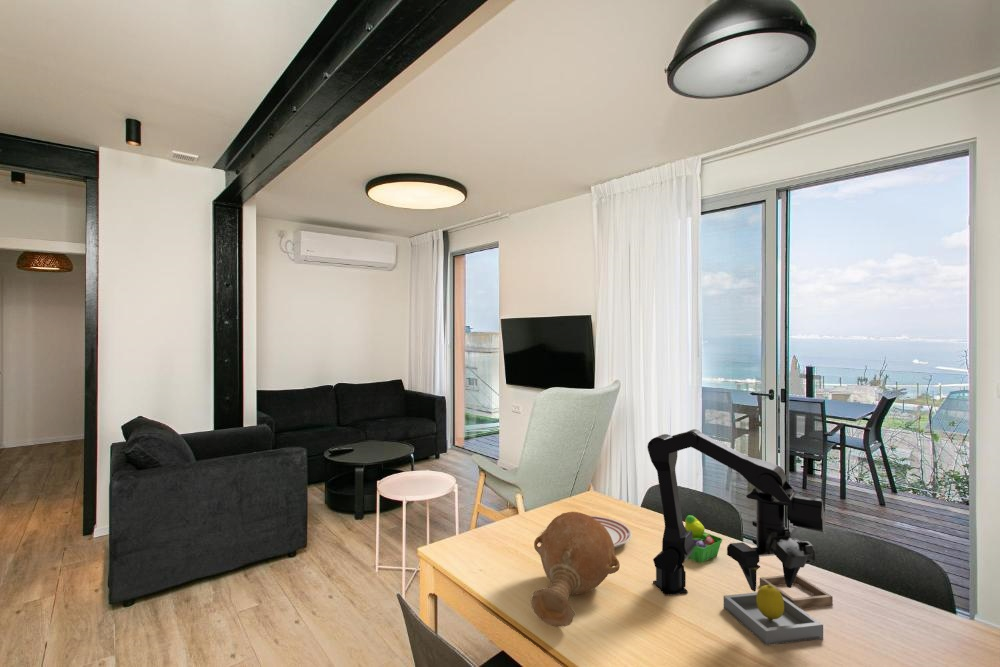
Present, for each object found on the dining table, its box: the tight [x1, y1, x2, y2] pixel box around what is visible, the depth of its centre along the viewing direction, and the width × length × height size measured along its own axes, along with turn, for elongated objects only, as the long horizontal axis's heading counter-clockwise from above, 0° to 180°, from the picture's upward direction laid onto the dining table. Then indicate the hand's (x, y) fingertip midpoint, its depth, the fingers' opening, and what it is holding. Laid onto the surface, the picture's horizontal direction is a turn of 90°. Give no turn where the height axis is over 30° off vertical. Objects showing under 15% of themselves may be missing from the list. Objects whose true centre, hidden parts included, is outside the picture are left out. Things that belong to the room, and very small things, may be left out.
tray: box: [723, 591, 824, 646], centre depth 106 cm, size 14×14×3 cm
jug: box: [530, 511, 620, 628], centre depth 116 cm, size 20×19×30 cm
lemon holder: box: [759, 574, 834, 609], centre depth 118 cm, size 11×11×2 cm
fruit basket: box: [684, 514, 723, 564], centre depth 140 cm, size 11×9×11 cm
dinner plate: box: [546, 515, 633, 549], centre depth 152 cm, size 27×27×3 cm
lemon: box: [756, 584, 784, 620], centre depth 106 cm, size 6×6×8 cm
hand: (771, 588), depth 106 cm, fingers open, 9 cm apart
